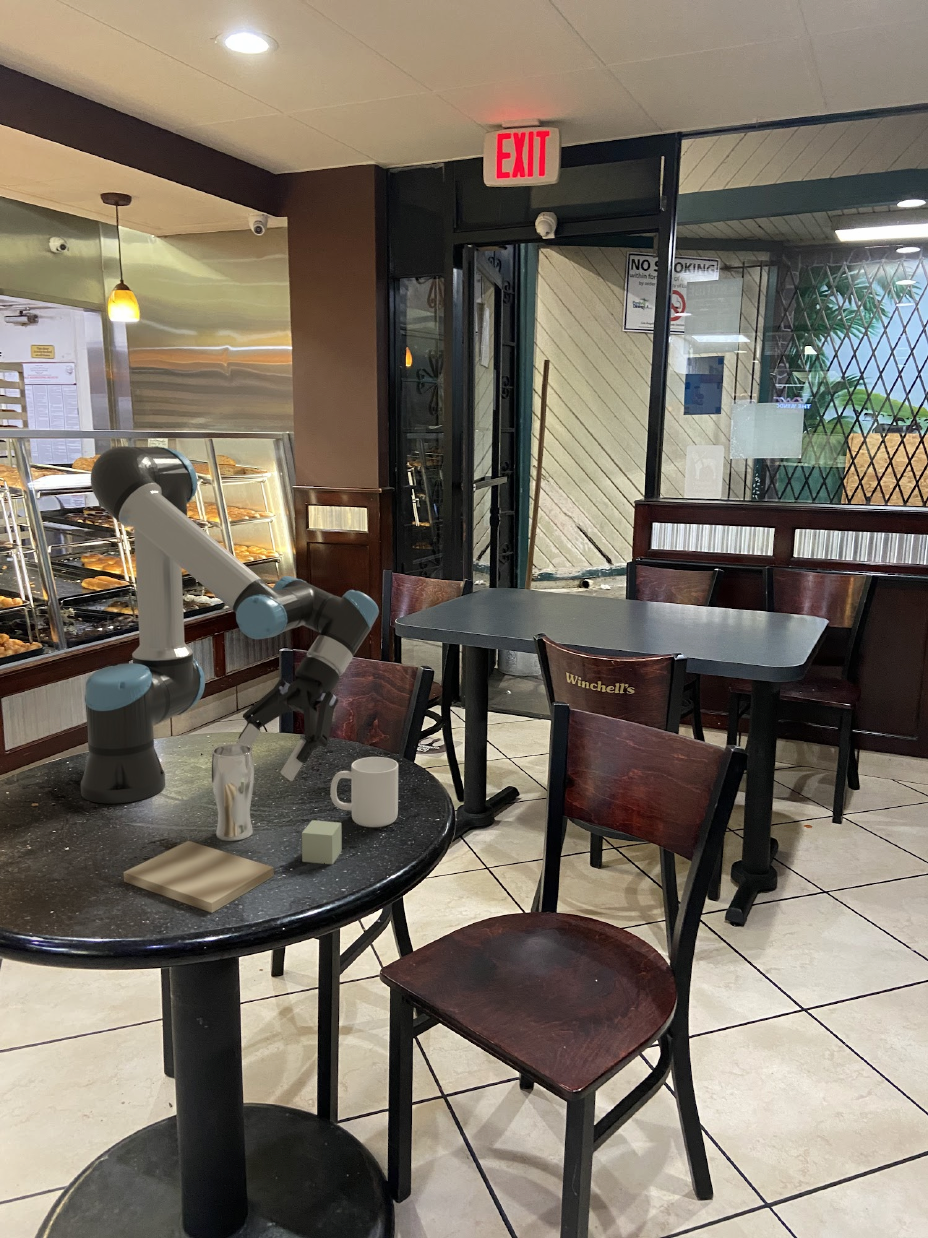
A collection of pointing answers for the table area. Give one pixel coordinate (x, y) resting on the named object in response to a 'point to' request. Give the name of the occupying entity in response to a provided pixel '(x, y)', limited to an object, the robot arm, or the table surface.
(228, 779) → the beer glass
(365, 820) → the cup
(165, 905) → the table surface
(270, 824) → the table surface
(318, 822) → the sage block
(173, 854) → the board
